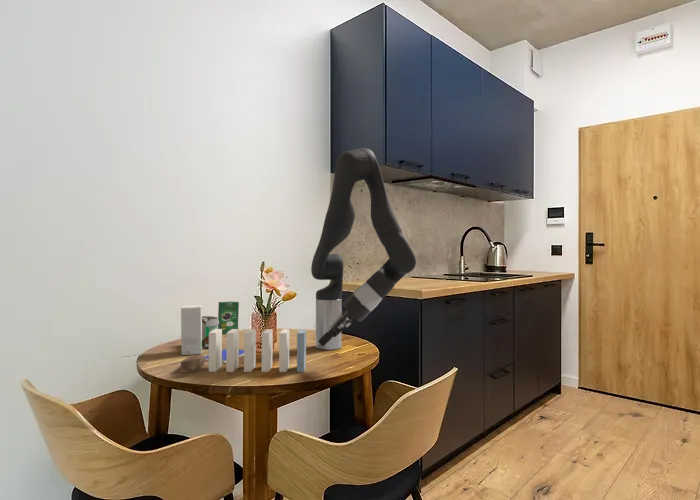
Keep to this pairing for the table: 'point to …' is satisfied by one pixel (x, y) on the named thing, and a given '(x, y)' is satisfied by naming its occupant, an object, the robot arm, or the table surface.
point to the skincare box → (191, 330)
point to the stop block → (192, 363)
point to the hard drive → (241, 352)
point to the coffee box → (228, 316)
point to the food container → (208, 329)
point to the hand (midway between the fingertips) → (320, 343)
